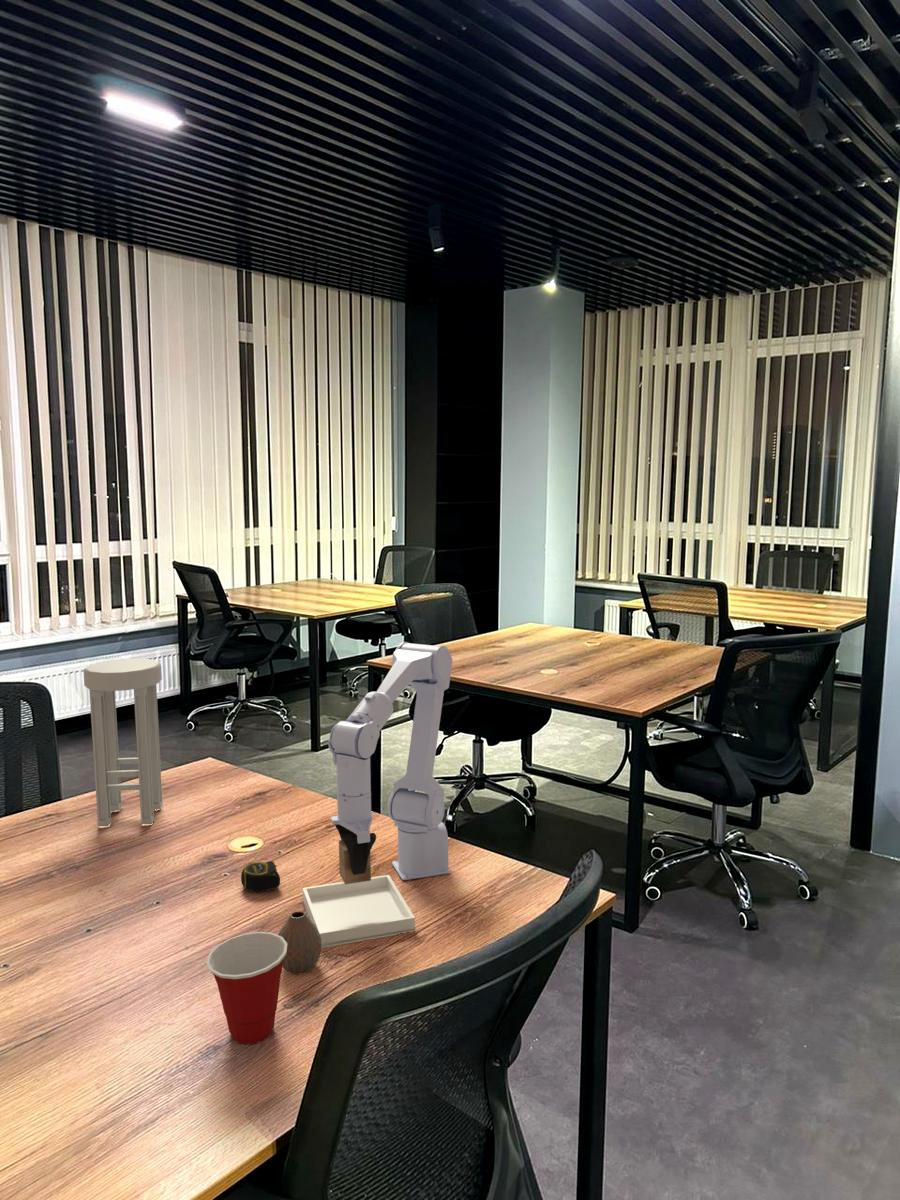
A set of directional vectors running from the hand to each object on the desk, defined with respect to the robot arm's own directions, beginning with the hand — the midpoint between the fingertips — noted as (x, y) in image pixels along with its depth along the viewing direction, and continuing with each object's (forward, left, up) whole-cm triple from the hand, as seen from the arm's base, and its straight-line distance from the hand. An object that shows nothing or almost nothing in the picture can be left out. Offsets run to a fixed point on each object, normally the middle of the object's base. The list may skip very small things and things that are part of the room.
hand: (355, 866), depth 152 cm
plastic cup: (+21, +27, -9) cm, 35 cm away
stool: (+38, -61, -9) cm, 72 cm away
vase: (+12, +13, -9) cm, 20 cm away
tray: (0, 0, -9) cm, 9 cm away
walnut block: (0, 0, -2) cm, 2 cm away
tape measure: (+14, -17, -9) cm, 24 cm away
